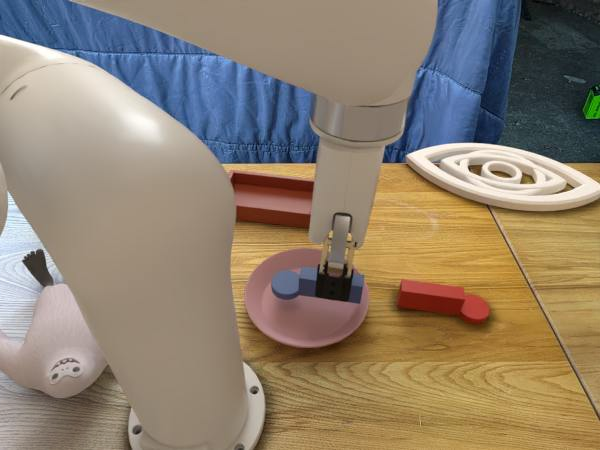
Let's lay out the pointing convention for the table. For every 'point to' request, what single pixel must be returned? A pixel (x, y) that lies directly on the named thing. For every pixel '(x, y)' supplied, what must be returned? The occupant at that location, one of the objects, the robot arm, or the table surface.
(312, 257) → the plate
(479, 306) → the red spoon
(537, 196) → the decorative sculpture
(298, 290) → the blue spoon
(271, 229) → the table surface
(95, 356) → the yeti figurine
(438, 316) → the table surface
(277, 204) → the tray
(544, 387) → the table surface
